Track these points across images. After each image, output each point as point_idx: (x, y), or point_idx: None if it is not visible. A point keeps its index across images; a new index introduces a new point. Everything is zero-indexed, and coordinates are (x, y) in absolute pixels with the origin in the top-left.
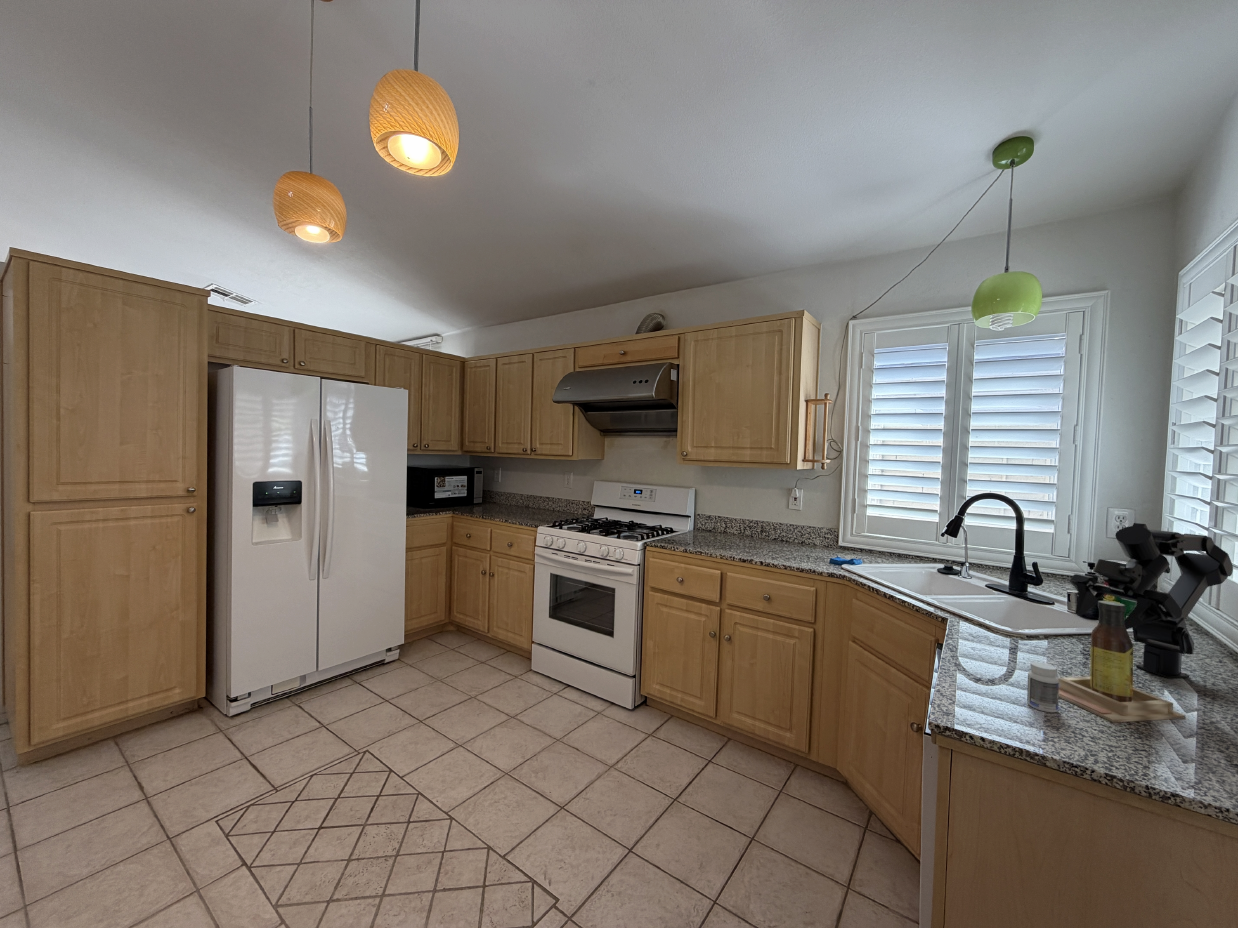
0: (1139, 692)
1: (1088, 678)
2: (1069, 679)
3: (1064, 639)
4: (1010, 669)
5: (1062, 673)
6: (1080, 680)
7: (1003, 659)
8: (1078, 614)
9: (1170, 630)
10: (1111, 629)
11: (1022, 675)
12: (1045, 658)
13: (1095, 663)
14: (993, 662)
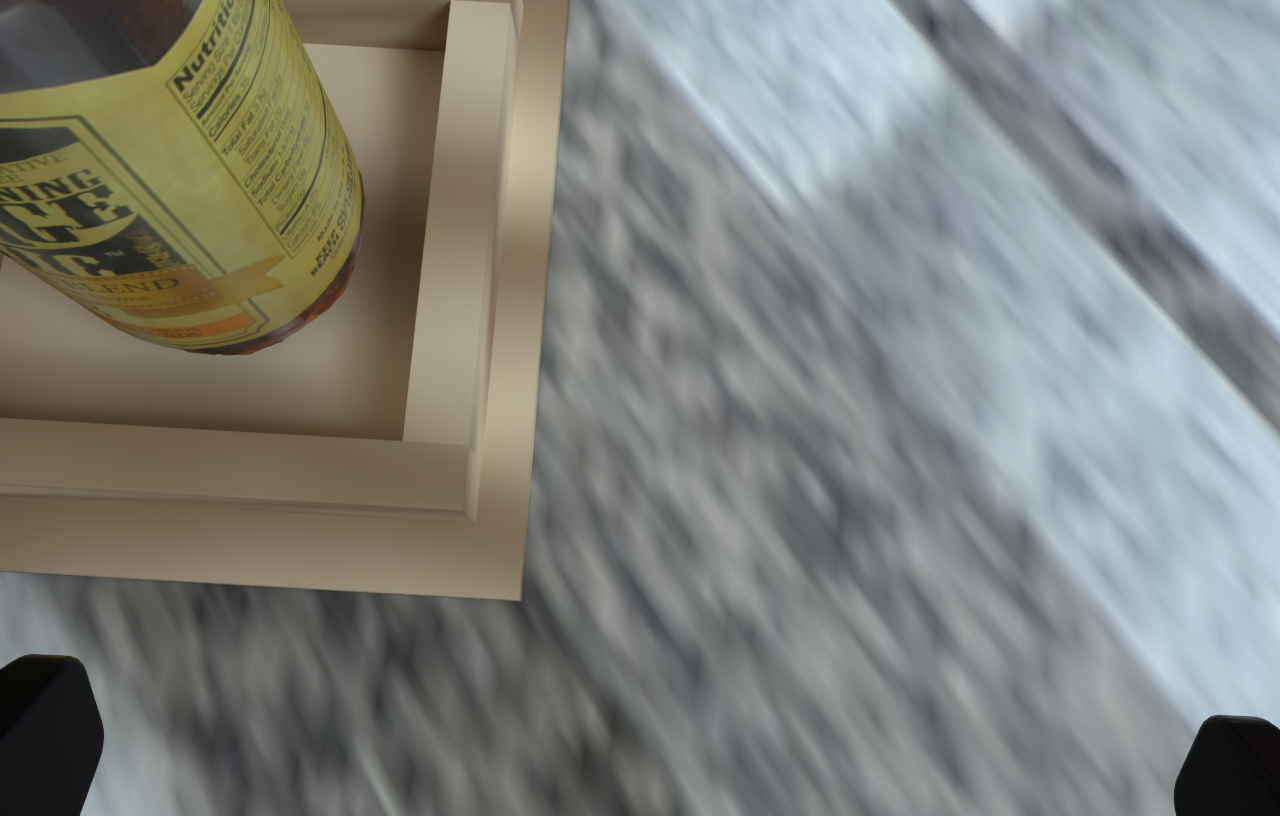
0: (83, 425)
1: (444, 255)
2: (464, 33)
3: None
4: (949, 23)
5: (814, 463)
6: (437, 138)
7: (1190, 192)
8: (1192, 759)
9: None
10: None
11: (816, 3)
12: None
13: None
14: (1117, 17)
